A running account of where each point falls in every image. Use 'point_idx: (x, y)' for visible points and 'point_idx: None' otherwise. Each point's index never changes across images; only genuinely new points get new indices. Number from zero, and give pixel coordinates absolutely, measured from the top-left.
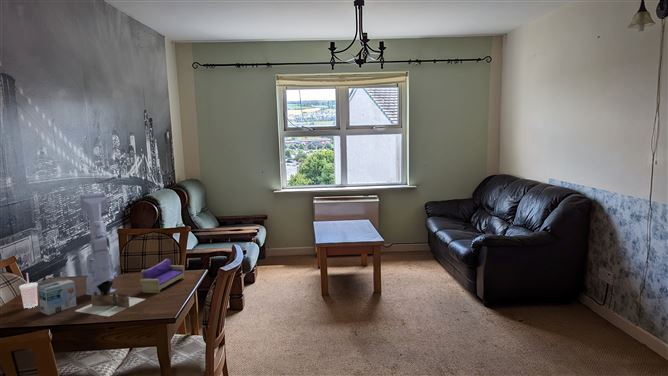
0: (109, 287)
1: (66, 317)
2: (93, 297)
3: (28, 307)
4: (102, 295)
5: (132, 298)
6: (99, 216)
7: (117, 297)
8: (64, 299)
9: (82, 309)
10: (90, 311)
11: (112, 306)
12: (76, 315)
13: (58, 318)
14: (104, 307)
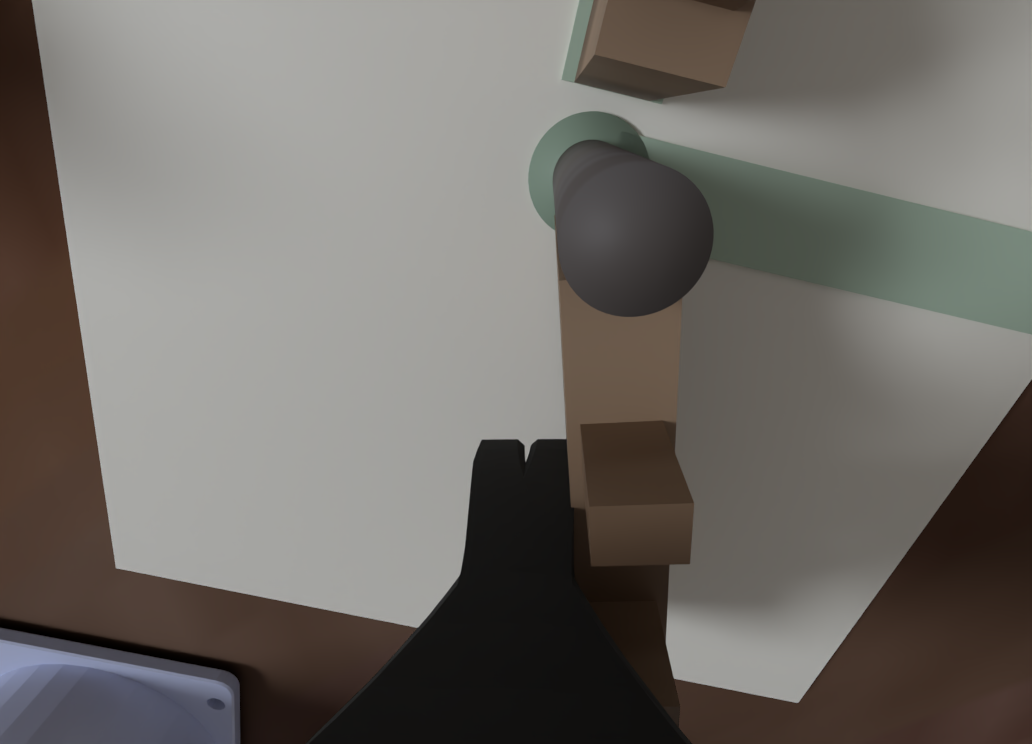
0: (497, 706)
1: (989, 677)
2: None
3: None
4: (649, 606)
5: (97, 39)
6: None
7: (743, 6)
8: None
9: (751, 644)
10: (868, 494)
11: None
12: (943, 605)
13: (996, 735)
14: (691, 365)
